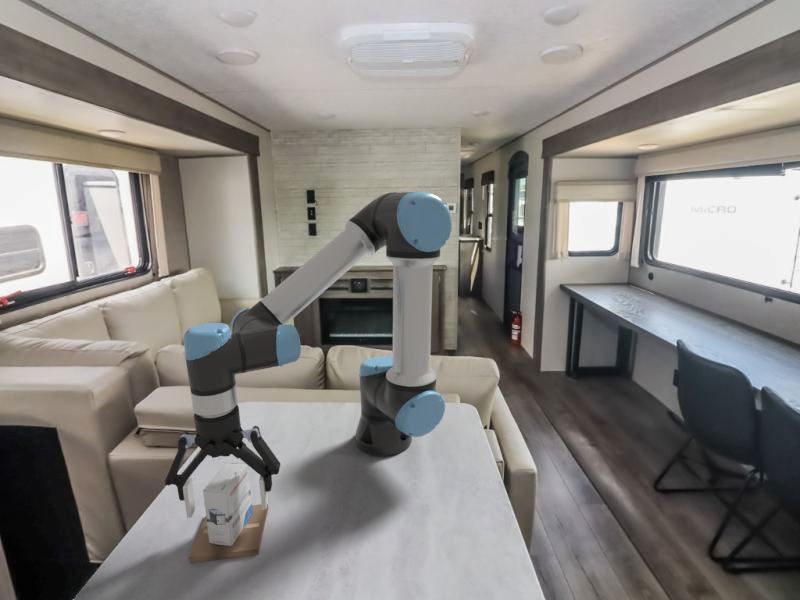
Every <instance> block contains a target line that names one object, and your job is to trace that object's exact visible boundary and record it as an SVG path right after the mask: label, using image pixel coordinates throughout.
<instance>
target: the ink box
mask: <svg viewBox="0 0 800 600" xmlns="http://www.w3.org/2000/svg"><path fill="white" fill-rule="evenodd" d="M249 471H250V470H249V466H248V465H247V464H246V463H238V462H225V463H224V465H223V466H222V467H221V469H220V470H219V471H218V472H217V473H216V475H215V476H214V477H213V478H211V481H210V482H209V483H208V484H207V485H206V486H205V488H204V489H203V490H202V492H203V500H204V501H203V502H204V508H205V516H206V519H207V527H208V536H209V543H213V544H218V545H226V546H232V545H233V544H234V542H235V541H236V539H237V537H238V536H239V534H240V533H241V531H242V529H243V528H244V526H245V525H246V523H247V521H248V520H249V518H250V517H251V515H252V513H253V511H252V505H253V502H252V493H251V482H250V472H249Z"/></svg>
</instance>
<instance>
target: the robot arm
mask: <svg viewBox="0 0 800 600" xmlns="http://www.w3.org/2000/svg"><path fill="white" fill-rule="evenodd" d="M452 225H453V220H452V215H451V211H450V209H449V208H448V206H447V204H446V203H445V202H444V201H443V200H442V199H441V198H440V197H439V196H437V195H436V194H433V193H431V192H424V191H418V190H417V191H408V192H407V191H406V192H404V191H403V192H396V191H395V192H387V193H384V194H382V195H380V196H378V197H377V198H374V199H373V200H371V201H370V202H369V203H368V204H367V205H365V206H364V207H363V208H362V209H360V210H359V211H358V212H357V213H356V214H354V215H353V216H352V217H351V218H350V219H348V221H346V223H345V227H344V229H343V230H342V231H341V232H340V233H339V234H338V235H337V236H335V237H334V238H333V239H332V240H331V241H329V243H327V244H326V245H325V246H324V247H322V249H320V250H319V251H318V252H316V253H315V254H314V255H313V256H312V257H310V259H308V260H307V261H306V262H304V263H303V264H302V265H301V266H300V267H299V268H297V269H296V270H295V271H294V272H292V274H290V275H289V276H287V277H286V279H284V280H283V281H282V282H280V283H279V285H277V286H276V287H275V288H274V289H272V290H271V291H270V292H269V293H268V294H266V296H264V297H263V298H262V299H260V300H259V301H258V302H256V303H255V304H254V305H253V306H252V307H250V308H248V307H247V308H243V309H240V310H238V311H237V312H236V313H235V314H234V315H233V316H232V317H233V318H232V319H231V322H230V326H229V325H228V324H226V323H224V322H208V323H207V322H206V323H201V324H197V325H194V326H191V327H190V328H188V329H187V330H186V331H185V333H184V336H183V343H184V357H185V364H186V371H187V376H188V383H189V384H188V385H189V390H190V396H191V397H190V398H191V404H192V406H191V408H192V412H193V419H194V426H195V432H196V434H190V433H189V431H184V432H183V433H182V434H181V436H180V437H179V439H178V441H177V452H176V454H175V457H174V459H173V462H172V464H171V467H170V469H169V471H168V474H167V476H166V478H165V481H164V485H166V486H171V485H173V486H175V487H177V494H178V499H179V501H181V502H182V501H184V505H185V513H186V518H187V519H190V518H192V517H193V516H194V513H195V511H196V509H197V505H196V499H195V492H194V484H193V483H194V482H193V478H192V477H191V476H192V475H193V473H194V472H195V471H196V469H197V468H198V467H199V465H200V464H201V463H202V462H203V461H204V460H205V459H206V457H207V456H208V457H211V458H213V459H215V458H219V457H230V456H231V455H232V456H234V458H236V459H240V460H241V461H242V462H244V464H247V465H248V467H250V468H251V469H252V470H253V471H255V473H257V474H259V480H258V481H259V483H258V484H259V492H260V501H261V502H260V504H262V510H264V509H266V508H267V504H268V502H269V492H271V490H272V487H273V479H272V477H273V475H274V476H275V475H278V474H279V473H280V468H281V462H280V461H279V459H278V458H277V457H276V455H275V454H274V452H273V450H272V449H271V448H270V447H269V445H268V444H267V442H266V441H265V440H264V438H263V437H262V434H261V432H260V431H261V430H260V427H259V426H257V425H254V426H252V428H251V429H247V430H246V429H245V430H243V428H242V424H241V416H240V408H239V405H238V403H239V400H238V391H237V389H238V388H237V382H236V375H239V374H245V373H249V372H254V371H255V372H256V371H260V370H266V369H270V368H275V367H283V366H285V365H288V364H293V363H296V362H297V361H298V360H299V359H300V357H301V353H302V345H301V339H300V335H299V331H298V329H297V328H296V327H295V325H293V324H291V323H290V324H289V322H290V321H291V320H293V319H294V318H295V317H296V316H298V315H299V314H300V313H301V312H302V311H303V310H304V309H306V307H308V306H309V305H310V304H311V303H313V301H315V300H316V299H317V298H319V296H321V295H322V294H323V293H324V292H325V291H326V290H328V288H330V287H331V286H332V285H333V284H334V283H335V282H337V281H338V280H339V279H340V278H341V277H343V276H344V275H345V274H346V273H347V272H349V270H350V269H352V268H353V267H354V266H355V265H356V264H357V263H358V262H360V261H361V260H362V259H363V258H364V257H366V256H367V255H369V256H373V255H375V254H376V253H377V252H378V251H379V250H380V249H382V248H384V247H385V248H386V250H385V251H386V253H385V255H386V258H387V259H388V260H389V261H390V262H391V263H392V266H393V267H392V270H393V271H392V276H393V277H392V355H381V356H374V357H371V358H368V359H365V360H364V361H362V362H361V364H360V365H359V375H358V376H359V383H360V384H359V388H360V389H359V392H360V408H361V409H360V411H361V413H360V418H359V421H358V424H357V427H356V431H355V444H356V446H357V447H358V449H359V450H360V451H362V452H364V453H366V454H369V455H373V456H381V457H385V456H387V457H388V456H393V455H397V454H399V453H401V452H403V451H406V449H408V448H409V447H410V446H411V444H412V441H413V438H419V437H423V436H425V435H426V436H427V435H428V434H430V433H431V432H432V431H434V430H435V429H436V427H437V425H439V424H440V422H441V421H442V419H443V417H444V415H445V412H446V402H445V399H444V397H443V396H442V394H441V393H439V392H437V373H436V372H435V371H434V370H433V369H432V368H431V347H432V346H431V345H432V343H431V340H432V308H433V304H432V303H433V301H432V300H433V269H434V267H433V266H434V264H435V263H436V262H437V261H438V260H439V259H440V258H441V249H442V248H443V247H444V246H445V245H446V243H447V240H450V236H451V233H452V228H453V226H452ZM244 439H246V440H247V441H248V443H251V445H252V446H253V448H254V450H255V451H256V452H257V454H256V453H255V452H254V451H253V450H252V449H250V448H249V447H248V445H247V444H246V443H245V442H244V441H243V440H244ZM193 443H195V445H196V446H197V447H198V448H199V449H200V450H199V451H198V453H196V455H195V456H194V457H193V459H192V460H191V461H190V463H189V464H188V465H187V466H186V468H185V469H184V470H183V471H182V472H181V473H180V474H179V471H180V468H181V466H182V463H183V461H184V459H185V455H186V453H187V451H188V449H189V448H191V447H192V446H193Z"/></svg>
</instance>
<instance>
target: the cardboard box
mask: <svg viewBox="0 0 800 600" xmlns="http://www.w3.org/2000/svg"><path fill="white" fill-rule="evenodd" d="M252 511H253V513H252V515H251V517H250V518H249V520H248V521H247V523H246V525H245V526H244V528H243V529H242V531H241V533H240V534H239V536H238V537H237V539H236V541H235V542H234V544H233V545H232V546H226V545H218V544H213V543H209V536H208V527H207V519H206V515H205V516H204V519H203V521H202V524H201V527H200V529H199V530H198V533H197V536H196V539H195V541H194V543H193V546H192V548H191V551H190V554H189V556H188V561H189V563H190V564H192V563H198V562H199V563H201V562H209V561H216V560H223V559H232V558H241V557H247V556H249V557H250V556H257V555H259V553H260V548H261V544H262V540H263V534H264V530H265V526H266V521H267V516H268V511H269V504H268V503H267V508H266V509H264V510H262V503H260V504H252Z"/></svg>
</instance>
